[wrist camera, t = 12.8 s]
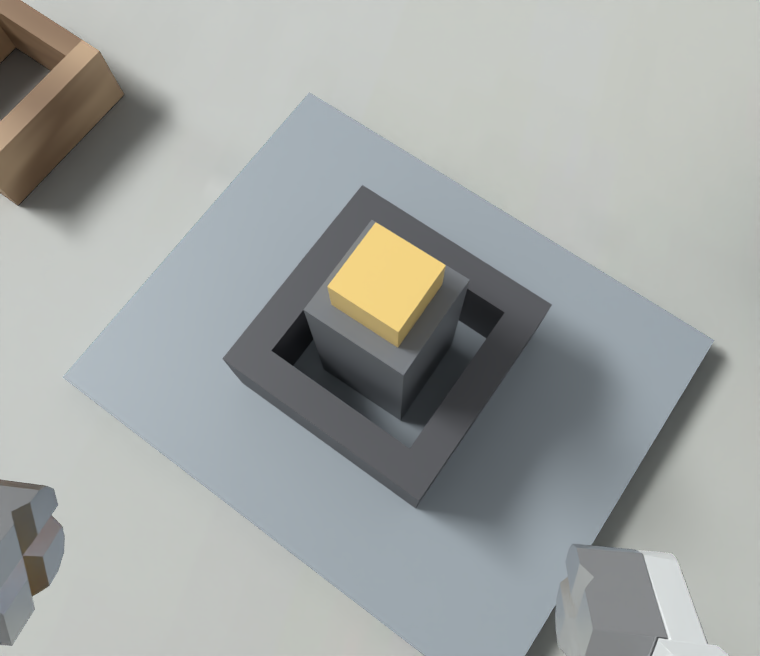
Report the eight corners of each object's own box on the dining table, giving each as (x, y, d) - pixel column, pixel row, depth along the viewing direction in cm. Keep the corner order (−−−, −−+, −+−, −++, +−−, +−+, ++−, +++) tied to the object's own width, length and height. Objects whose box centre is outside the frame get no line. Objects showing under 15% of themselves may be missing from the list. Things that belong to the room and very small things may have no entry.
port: (489, 703, 26) (509, 730, 21) (73, 383, 29) (19, 352, 25) (703, 347, 30) (756, 310, 25) (311, 105, 33) (300, 38, 29)
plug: (400, 420, 28) (404, 361, 20) (323, 369, 28) (297, 291, 20) (451, 346, 29) (475, 259, 21) (376, 297, 29) (370, 196, 21)
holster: (17, 205, 32) (-19, 170, 29) (-92, 126, 33) (-138, 85, 30) (124, 94, 34) (99, 51, 31) (15, 23, 35) (-18, -25, 32)
